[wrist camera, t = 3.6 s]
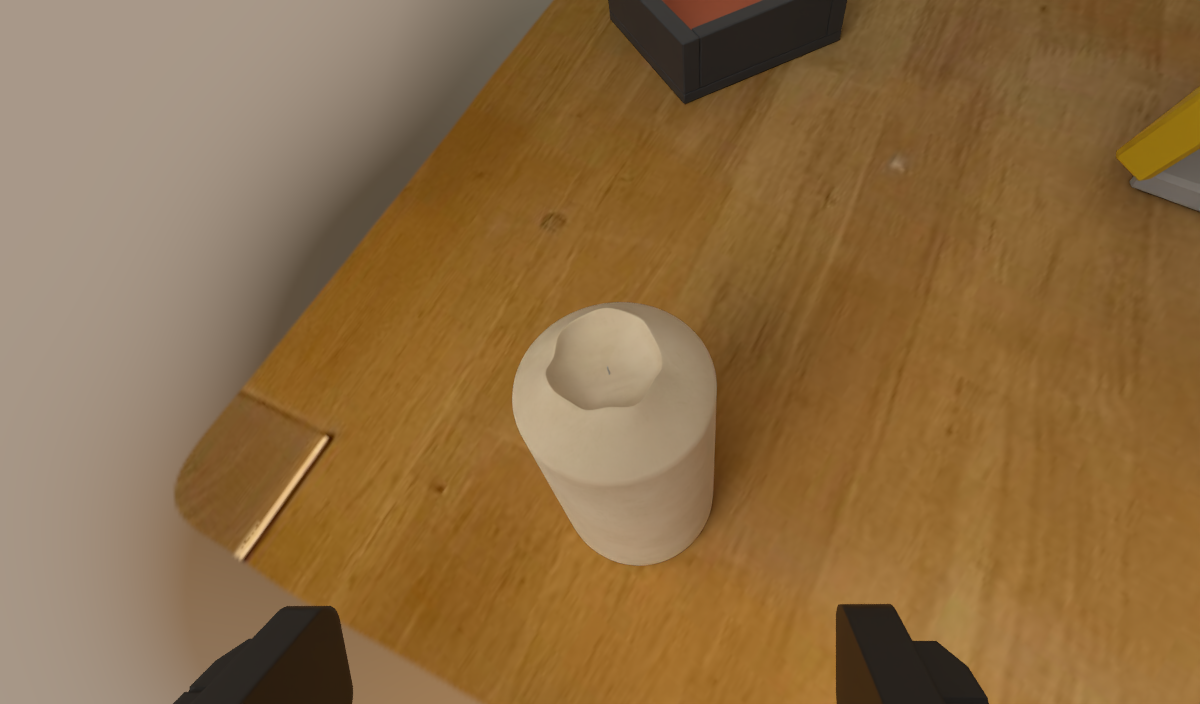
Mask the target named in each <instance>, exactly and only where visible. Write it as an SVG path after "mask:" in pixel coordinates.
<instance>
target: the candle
mask: <svg viewBox="0 0 1200 704" xmlns="http://www.w3.org/2000/svg"><path fill="white" fill-rule="evenodd" d="M716 398H717V381H716V372H715V369H714V365H713V361H712V359H711V357H710V354H709V352H708V350H707V348H706V347H705V345H704V343H703V342H702V340H701V339H700V338H699V337H698V336H697V334H696V333H695V332H694V331H693V330H692V329H691V328H690V327H689V326H687V325H686V324H685V323H684V322H682V321H681V320H679V319H678V318H677V317H675V316H673V315H671V314H669V313H667V312H665V311H663V310H660V309H658V308H655V307H652V306H647V305H643V304H637V303H630V302H614V303H604V304H599V305H593V306H590V307H587V308H583V309H580V310H578V311H576V312H573V313H571V314H569V315H567V316H565V317H563V318H562V319H560V320H558V321H557V322H555V323H554V324H553V325H551V326H550V327H548V328H547V329H546V330H545V331H544V332H543V333H542V334H541V335H540V336H539V337H538V338H537V339H536V340H535V341H534V342H533V343H532V345H531V346H530V348H529V349H528V350H527V352H526V353H525V355H524V357H523V359H522V361H521V363H520V365H519V367H518V370H517V373H516V376H515V380H514V385H513V394H512V403H513V413H514V417H515V421H516V424H517V427H518V429H519V432H520V434H521V436H522V438H523V439H524V441H525V443H526V445H527V446H528V448H529V450H530V452H531V453H532V455H533V457H534V459H535V460H536V462H537V464H538V466H539V467H540V469H541V471H542V473H543V474H544V476H545V478H546V479H547V481H548V483H549V485H550V486H551V488H552V490H553V492H554V493H555V495H556V497H557V499H558V500H559V502H560V504H561V506H562V507H563V509H564V511H565V513H566V514H567V516H568V518H569V520H570V521H571V523H572V525H573V527H574V528H575V530H576V531H577V533H578V534H579V535H580V537H581V538H582V539H583V540H584V542H585V543H587V544H588V545H589V546H590V547H591V548H592V549H593V550H595V551H596V552H597V553H599V554H601V555H602V556H604V557H606V558H608V559H610V560H613V561H615V562H618V563H623V564H627V565H637V566H639V565H651V564H656V563H660V562H663V561H666V560H668V559H670V558H672V557H674V556H676V555H678V554H679V553H681V552H682V551H684V550H685V549H686V548H687V547H688V546H689V545H691V544H692V542H693V541H694V540H695V539H696V538H697V537H698V535H699V534H700V532H701V531H702V529H703V528H704V526H705V524H706V521H707V519H708V517H709V513H710V510H711V505H712V499H713V484H714V455H715V427H716Z"/></svg>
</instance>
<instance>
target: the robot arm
mask: <svg viewBox="0 0 1200 704" xmlns="http://www.w3.org/2000/svg"><path fill="white" fill-rule="evenodd" d="M836 698H837V704H989V703H988V698H987V696H986V695H985V693H984V691H983V690H982V688H981V687H980V685H979V684H978V682H977V680H976V679H975V677H974V676H973V674H972V672H971V671H970V669H969V668H968V666H966V665H965V664H964V663H963V662H961V661H960V660H959V659H958V658H956V657H955V656H954V655H953V654H952V653H950V652H949V651H948V650H947V649H945V648H944V647H943V646H942V645H941V644H939V643H938V642H937V641H912V639H911V638H910V636H909V634H908V632H907V630H906V628H905V626H904V625H903V623H902V621H901V619H900V617H899V615H898V613H897V612H896V610H895V608H894V607H893V606H892V605H891V604H839V605H838V607H837V612H836ZM352 700H353V686H352V680H351V675H350V670H349V665H348V660H347V654H346V650H345V644H344V639H343V634H342V629H341V624H340V619H339V615H338V613H337V611H336V610H335V609H334V608H333V607H331V606H287V607H284V608H282V609H280V610H279V611H278V612H277V613H276V614H275V615H274V616H273V617H272V618H271V619H270V621H269V622H268V623H267V624H266V625H265V626H264V627H263V628H262V629H261V630H260V631H259V632H258V633H257V634H256V635H255V636H254V637H253V638H252V639H248V640H246V641H245V642H243V643H242V644H240V645H239V646H237V647H236V648H234V649H233V650H231V651H230V652H228V653H227V654H225V655H224V656H222V657H221V658H219V659H218V660H216V661H215V662H214V663H213V664H212V665H211V666H210V667H209V668H208V669H207V670H206V671H205V672H204V673H203V674H202V675H201V676H200V677H199V678H198V679H197V680H196V681H195V682H194V683H193V684H192V685H191V686H190V690H189V692H184V693H183V694H182V695H181V696H180V698H178V700H176V701H175V702H174V703H173V704H352Z"/></svg>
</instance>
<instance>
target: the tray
mask: <svg viewBox="0 0 1200 704" xmlns="http://www.w3.org/2000/svg"><path fill="white" fill-rule="evenodd" d="M608 1H609V9H610V19H611V20H612V21H613V22H614V24H615V25H616V26H617V27H618V28H619V29H620V30H621V32H622V33H623V34H624V35H625V36H626V37H627V39H628V40H629V41H630V42H631V43H632V44H633V45H634V47H635V48H636V49H637V50H638V51H639V52H640V53H641V55H642V56H643V57H644V58H645V59H646V60H647V61H648V63H649V64H650V65H651V66H652V67H653V68H654V70H655V71H656V72H657V73H658V74H659V75H660V76H661V78H662V79H663V80H664V81H665V82H666V83H667V84H668V86H669V87H670V88H671V89H672V90H673V91H674V92H675V94H676V95H677V96H678V97H679V98H680V99H681V101H682V102H683V103H684V104H686V103H688V102H690V101H693V100H695V99H698V98H700V97H703V96H705V95H707V94H710V93H712V92H715V91H717V90H719V89H722V88H724V87H727V86H729V85H732V84H734V83H736V82H739V81H741V80H744V79H746V78H748V77H751V76H753V75H756V74H758V73H760V72H763V71H765V70H768V69H770V68H773V67H775V66H777V65H780V64H782V63H785V62H787V61H789V60H792V59H794V58H797V57H799V56H802V55H804V54H806V53H809V52H811V51H814V50H816V49H818V48H821V47H823V46H826V45H828V44H831V43H833V42H835V41H838V40H840V35H841V29H842V24H843V19H844V14H845V8H846V3H847V0H608Z"/></svg>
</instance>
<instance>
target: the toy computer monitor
mask: <svg viewBox="0 0 1200 704" xmlns="http://www.w3.org/2000/svg"><path fill="white" fill-rule="evenodd" d="M1116 158H1117V159H1118V160H1119V161H1120V162H1121V163H1122V164H1123V166H1124V167H1125V168H1126V169H1127V170H1128V171H1129V172H1130V173H1131V174H1132V175H1133V178H1132V179H1131V180H1130V184H1131V186H1132V187H1133V188H1136V189H1139V190H1142V191H1144V192H1147V193H1150V194H1152V195H1155V196H1158V197H1161V198H1163V199H1166V200H1169V201H1172V202H1174V203H1177V204H1180V205H1183V206H1185V207H1188V208H1191V209H1194V210H1196V211H1199V212H1200V86H1199V87H1198V88H1197V89H1195V90H1194V91H1193V92H1191V93H1190V94H1189V95H1188V96H1186V97H1185V98H1184V99H1182V100H1181V101H1180V102H1179V103H1177V104H1176V105H1175V106H1174V107H1172V108H1171V109H1170V110H1168V111H1167V112H1166V113H1165V114H1163V115H1162V116H1161V117H1159V118H1158V119H1157V120H1156V121H1154V122H1153V123H1152V124H1150V125H1149V126H1148V127H1147V128H1145V129H1144V130H1143V131H1141V132H1140V133H1139V134H1138V135H1136V136H1135V137H1134V138H1132V139H1131V140H1130V141H1129V142H1127V143H1126V144H1125V145H1123V146H1122V147H1121V148H1120V149H1118V150H1117V151H1116Z"/></svg>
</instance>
